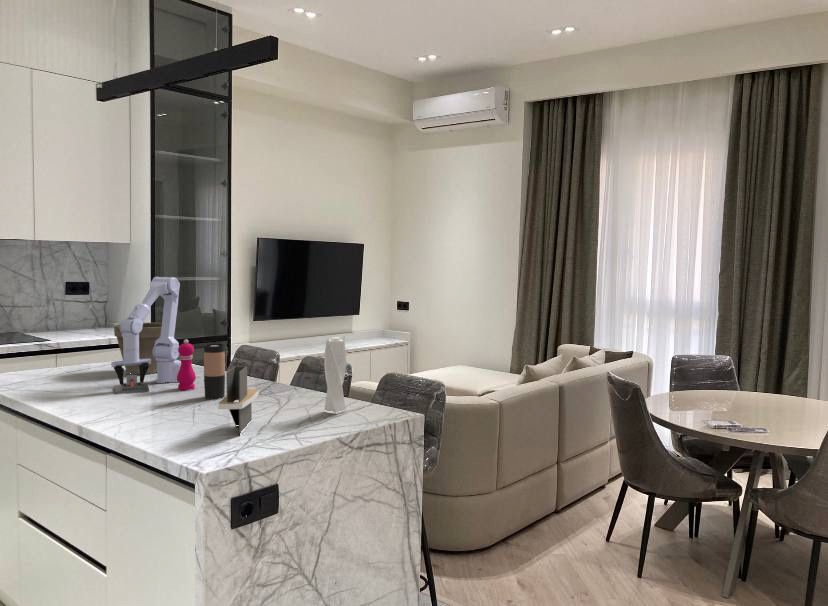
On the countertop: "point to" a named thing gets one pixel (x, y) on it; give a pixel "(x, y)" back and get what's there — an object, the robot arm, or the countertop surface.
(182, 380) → the pepper mill
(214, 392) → the travel mug
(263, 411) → the countertop surface
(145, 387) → the stand base
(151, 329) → the plant pot
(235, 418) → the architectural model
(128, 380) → the brushed metal block
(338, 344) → the skyscraper
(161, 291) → the robot arm
